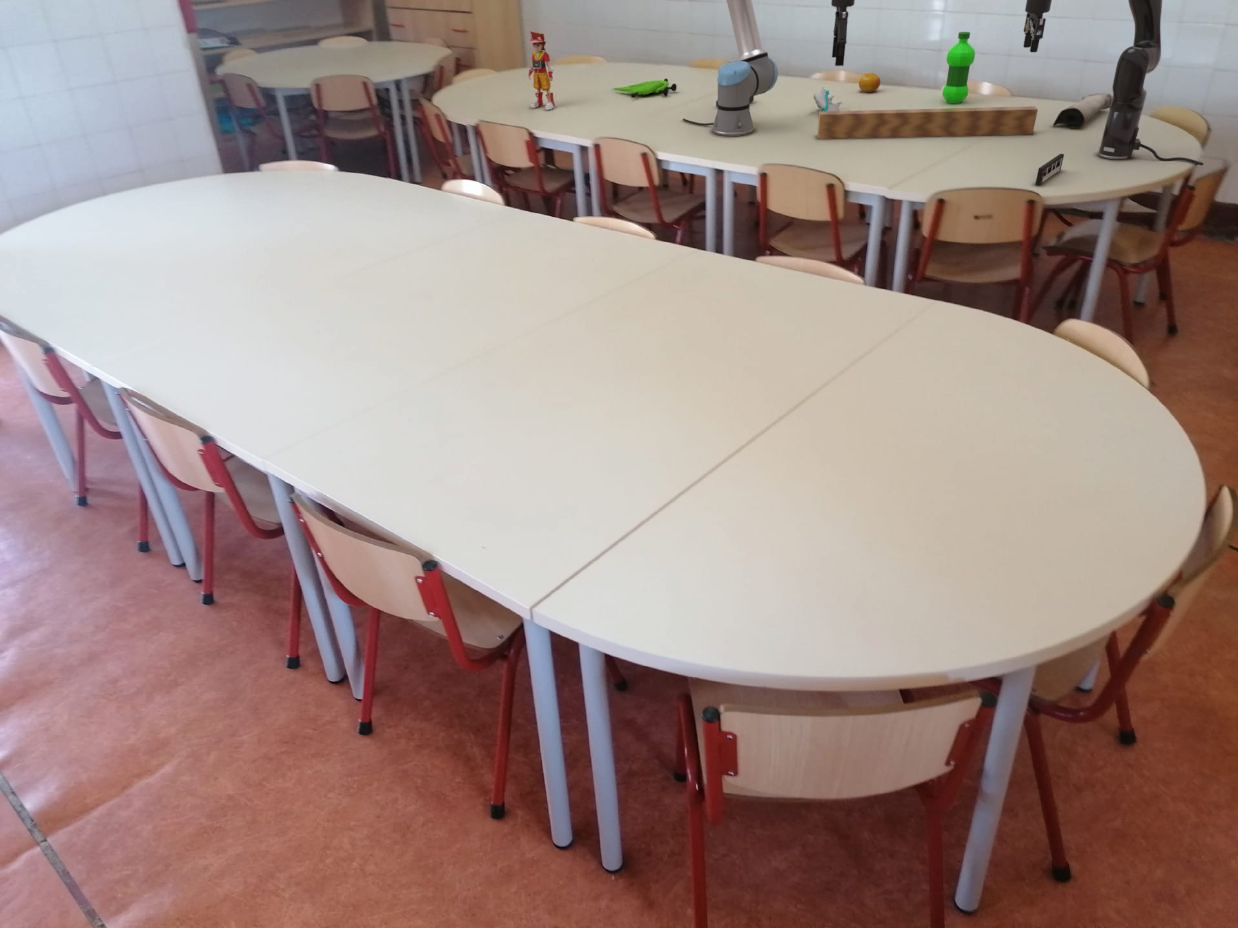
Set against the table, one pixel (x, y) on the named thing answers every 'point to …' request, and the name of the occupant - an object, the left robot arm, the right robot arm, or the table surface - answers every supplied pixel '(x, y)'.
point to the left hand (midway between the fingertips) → (837, 61)
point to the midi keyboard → (1049, 169)
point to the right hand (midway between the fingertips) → (1029, 49)
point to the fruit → (869, 82)
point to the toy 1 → (541, 71)
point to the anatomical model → (826, 101)
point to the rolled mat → (1083, 110)
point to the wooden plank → (927, 122)
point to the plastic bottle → (958, 69)
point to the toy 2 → (648, 88)
